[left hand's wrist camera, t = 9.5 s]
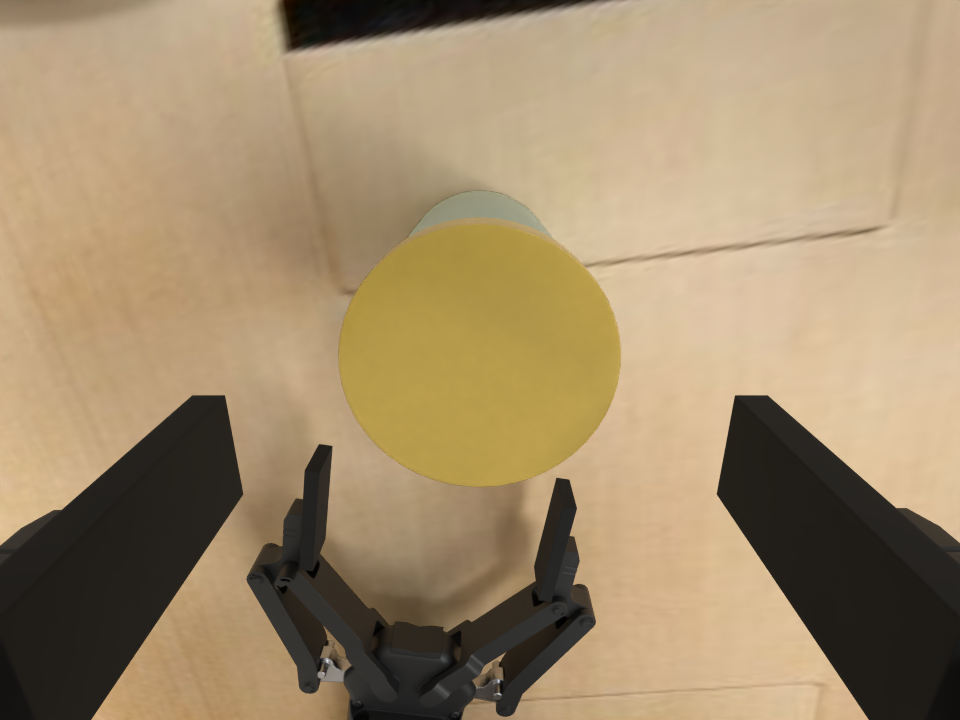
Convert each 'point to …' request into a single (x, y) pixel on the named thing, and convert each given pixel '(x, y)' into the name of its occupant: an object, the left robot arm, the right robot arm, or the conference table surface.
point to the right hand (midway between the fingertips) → (444, 474)
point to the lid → (479, 353)
